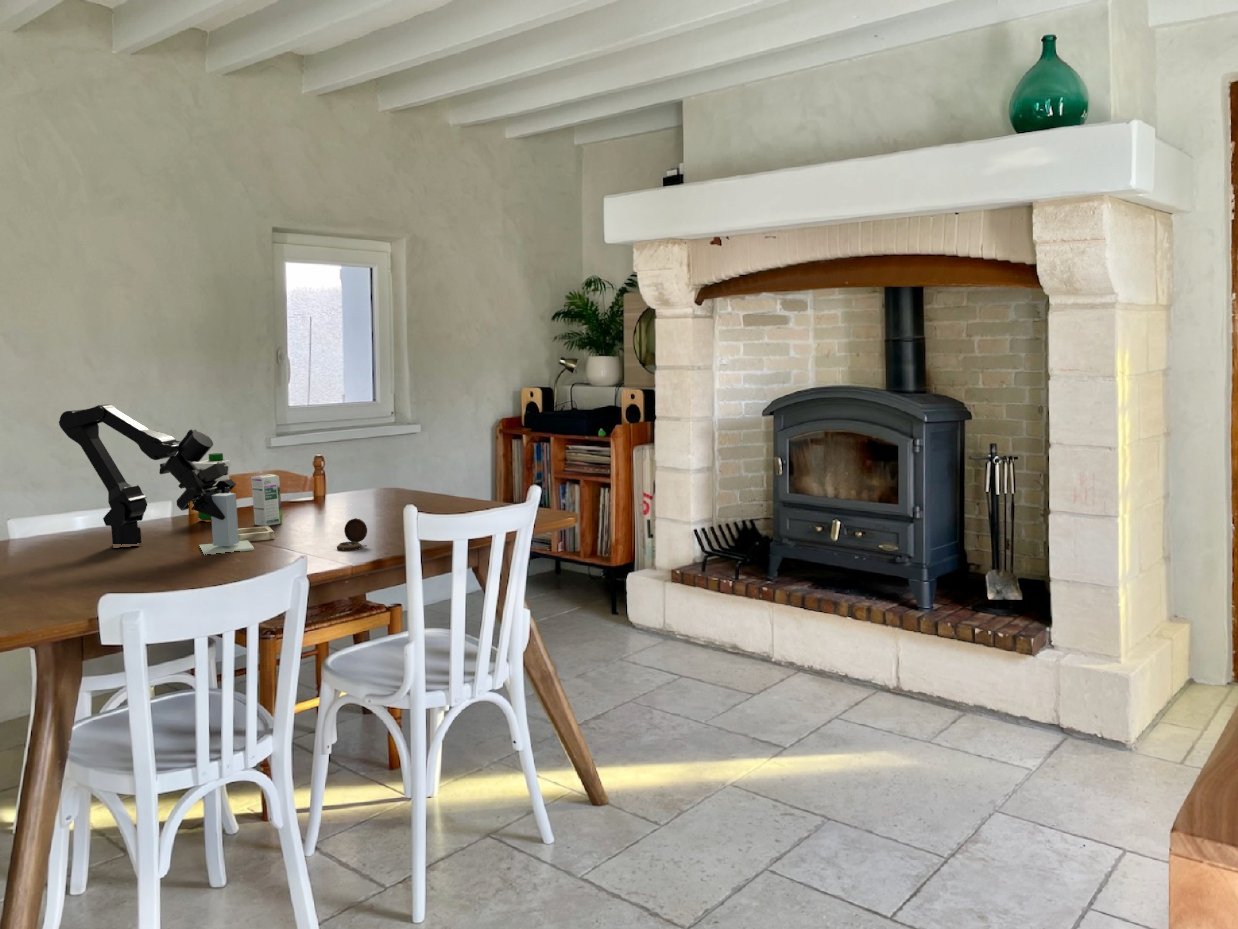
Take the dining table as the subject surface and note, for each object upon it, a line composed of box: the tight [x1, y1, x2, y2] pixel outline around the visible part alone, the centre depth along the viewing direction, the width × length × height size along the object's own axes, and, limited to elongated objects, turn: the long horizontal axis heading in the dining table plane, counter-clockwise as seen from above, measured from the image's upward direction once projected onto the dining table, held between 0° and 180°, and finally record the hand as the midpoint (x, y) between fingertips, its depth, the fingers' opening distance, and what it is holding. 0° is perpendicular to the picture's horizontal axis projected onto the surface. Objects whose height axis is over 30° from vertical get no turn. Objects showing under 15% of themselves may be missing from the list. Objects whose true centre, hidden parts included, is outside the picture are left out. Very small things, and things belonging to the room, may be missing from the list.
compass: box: [336, 517, 368, 551], centre depth 257 cm, size 8×8×7 cm
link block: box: [211, 492, 239, 546], centre depth 258 cm, size 4×4×13 cm
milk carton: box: [192, 452, 231, 520], centre depth 301 cm, size 9×9×20 cm
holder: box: [238, 526, 275, 542], centre depth 273 cm, size 10×10×2 cm
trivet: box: [198, 540, 255, 556], centre depth 259 cm, size 12×12×1 cm
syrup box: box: [250, 473, 283, 527], centre depth 294 cm, size 6×6×14 cm
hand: (229, 517), depth 258 cm, fingers closed on link block, 4 cm apart
